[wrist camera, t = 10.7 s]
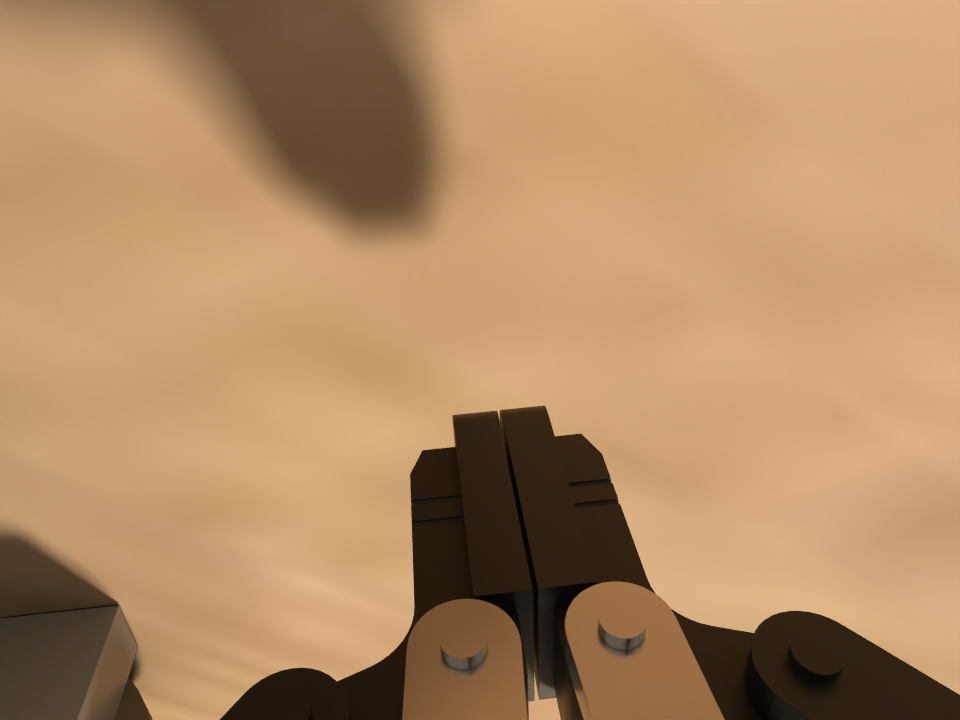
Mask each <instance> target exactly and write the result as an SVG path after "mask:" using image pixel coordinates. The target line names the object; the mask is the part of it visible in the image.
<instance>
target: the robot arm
mask: <svg viewBox="0 0 960 720" xmlns="http://www.w3.org/2000/svg"><path fill="white" fill-rule="evenodd" d="M453 428H454V439H455V447H451V448H442V449H432V450H423V451H422V453H421V455H420V457H419V459H418V461H417V462H416V464H415V466H414V468H413V470H412V472H411V474H410V480H411V503H412V505H411V511H412V541H413V571H414V602H415V608H414V617H413V621H412V625H411V627H410V629H409V632H408V633H407V635H406V637H405V638H404V640H403V641H402V642H401V644H400V645H399V646H398V647H397V648H396V649H395V650H394V651H393V652H392V653H391V654H390V655H389V656H387V657H386V658H385V659H383V660H382V661H380V662H379V663H377V664H375V665H373V666H371V667H369V668H367V669H365V670H362V671H360V672H358V673H356V674H353V675H351V676H349V677H346V678H344V679H342V680H340V681H336V680H334V679H333V678H332V677H331V676H329V675H327V674H325V673H323V672H321V671H318V670H314V669H309V668H292V669H287V670H283V671H280V672H277V673H274V674H272V675H270V676H268V677H266V678H264V679H262V680H260V681H259V682H258V683H256V684H255V685H254V686H252V687H251V688H250V689H249V690H248V691H247V692H246V693H245V694H244V695H243V696H242V697H241V698H240V699H239V700H238V701H237V702H236V703H235V704H234V705H233V706H232V707H231V708H230V709H229V711H228V712H227V713H226V714H225V715H224V716H223V717H222V718H221V719H220V720H529V711H528V701H534V673H535V679H536V685H537V690H538V696H539V700H541V699H549V698H557V702H558V707H559V712H560V717H561V720H960V695H959V694H957V693H956V692H954V691H952V690H950V689H949V688H947V687H945V686H944V685H942V684H940V683H939V682H937V681H935V680H934V679H932V678H930V677H929V676H927V675H925V674H924V673H922V672H920V671H919V670H917V669H915V668H914V667H912V666H910V665H909V664H907V663H905V662H904V661H902V660H900V659H899V658H897V657H895V656H893V655H892V654H890V653H888V652H887V651H885V650H883V649H882V648H880V647H878V646H877V645H875V644H873V643H872V642H870V641H868V640H867V639H865V638H863V637H862V636H860V635H858V634H857V633H855V632H853V631H852V630H850V629H848V628H847V627H845V626H843V625H841V624H840V623H838V622H836V621H834V620H832V619H830V618H827V617H824V616H822V615H819V614H815V613H811V612H803V611H788V612H782V613H778V614H775V615H773V616H771V617H769V618H767V619H766V620H764V621H763V622H762V623H761V624H760V625H759V626H758V628H757V629H756V631H755V633H749V632H744V631H738V630H732V629H726V628H720V627H715V626H710V625H705V624H701V623H698V622H695V621H693V620H690V619H688V618H686V617H684V616H682V615H680V614H678V613H677V612H675V611H674V610H672V609H671V608H670V607H669V606H668V605H667V604H666V602H665V601H663V600H662V599H661V598H660V597H659V596H658V595H656V594H655V592H654V591H653V589H652V588H651V586H650V584H649V582H648V580H647V577H646V574H645V571H644V569H643V566H642V563H641V560H640V558H639V555H638V552H637V549H636V547H635V544H634V541H633V538H632V536H631V533H630V530H629V527H628V525H627V522H626V519H625V516H624V514H623V511H622V508H621V505H620V504H619V503H618V497H617V494H616V492H615V489H614V486H613V483H611V478H610V475H609V472H608V470H607V467H606V464H605V461H604V459H603V456H602V454H601V453H600V452H599V451H598V450H597V449H596V448H595V447H594V446H593V445H592V444H591V443H590V442H589V441H588V440H587V439H586V438H585V437H584V436H583V435H582V434H574V435H564V436H554V433H553V429H552V426H551V422H550V419H549V415H548V412H547V409H546V407H545V406H537V407H527V408H517V409H507V410H500V422H499V417H498V413H497V411H489V412H480V413H470V414H460V415H453Z"/></svg>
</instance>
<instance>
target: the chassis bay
mask: <svg viewBox="0 0 960 720" xmlns="http://www.w3.org/2000/svg"><path fill="white" fill-rule="evenodd" d="M137 649H138V645H137V643H136V641H135V639H134V636H133V634H132V632H131V630H130V628H129V626H128V624H127V621H126V619H125V617H124V615H123V613H122V611H121V609H120V606H119V605H118V606H109V607H100V608H91V609H82V610H73V611H64V612H55V613H46V614H37V615H28V616H20V617H11V618H2V619H0V720H153V719H152V717H151V715H150V713H149V711H148V709H147V707H146V705H145V703H144V701H143V699H142V697H141V695H140V693H139V691H138V689H137V688H136V686H135V685H134V684H133V683H132V681H131V680H130V679H129V678H128V677H129V674H130V670H131V667H132V664H133V661H134V658H135V655H136V652H137Z"/></svg>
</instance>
